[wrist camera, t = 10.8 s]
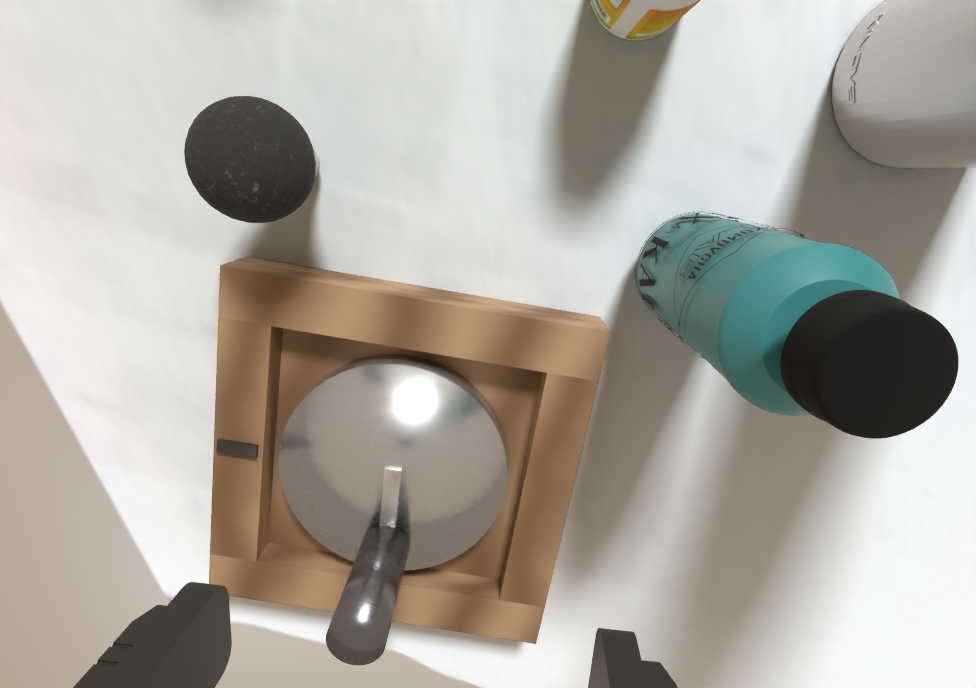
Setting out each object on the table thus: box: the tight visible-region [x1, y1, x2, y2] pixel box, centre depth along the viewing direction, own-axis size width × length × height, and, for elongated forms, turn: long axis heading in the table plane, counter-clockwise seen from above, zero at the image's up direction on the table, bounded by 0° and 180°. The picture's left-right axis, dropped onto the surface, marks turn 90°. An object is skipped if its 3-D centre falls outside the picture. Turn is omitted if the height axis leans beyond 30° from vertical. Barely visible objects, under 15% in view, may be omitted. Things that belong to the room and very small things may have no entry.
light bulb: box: [184, 96, 320, 223], centre depth 29 cm, size 6×6×10 cm
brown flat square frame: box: [209, 257, 610, 644], centre depth 37 cm, size 22×22×4 cm
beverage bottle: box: [635, 211, 958, 438], centre depth 25 cm, size 6×7×20 cm
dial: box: [279, 354, 508, 665], centre depth 32 cm, size 14×14×10 cm
